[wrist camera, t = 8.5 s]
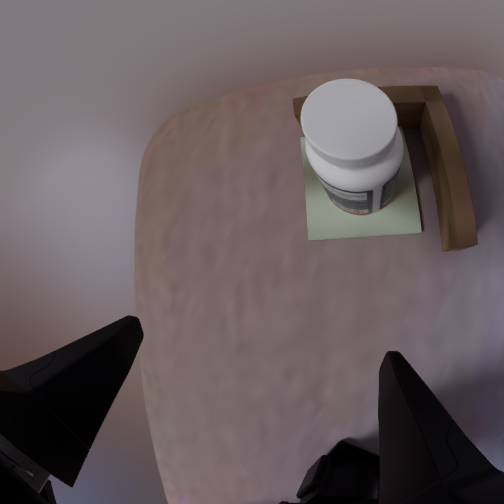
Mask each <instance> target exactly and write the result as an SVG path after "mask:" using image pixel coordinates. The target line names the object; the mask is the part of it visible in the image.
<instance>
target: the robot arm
mask: <svg viewBox="0 0 504 504" xmlns="http://www.w3.org/2000/svg"><path fill="white" fill-rule="evenodd" d="M143 336H144V334H143V330H142V327H141V324H140V320H139V319H138V318H137V317H135V316H130V315H129V316H126V317H124V318H122V319H120V320H118V321H115V322H113V323H111V324H109V325H107V326H105V327H103V328H101V329H99V330H97V331H95V332H93V333H91V334H89V335H86V336H84V337H82V338H80V339H78V340H76V341H74V342H72V343H70V344H68V345H66V346H64V347H62V348H60V349H58V350H56V351H53V352H51V353H49V354H47V355H45V356H42V357H40V358H38V359H36V360H33V361H30V362H28V363H25V364H22V365H20V366H17V367H14V368H12V369H9V370H5V371H0V504H56V500H55V497H54V493H53V489H52V485H51V481H50V480H49V479H48V478H49V477H50V475H53V476H54V477H56V478H58V479H59V480H60V481H62V482H64V483H65V484H67V485H68V486H70V487H73V485H74V483H75V481H76V479H77V476H78V474H79V472H80V470H81V468H82V465H83V463H84V461H85V459H86V457H87V454H88V452H89V449H90V448H91V446H92V444H93V441H94V439H95V437H96V435H97V433H98V431H99V429H100V427H101V425H102V423H103V421H104V419H105V417H106V415H107V413H108V411H109V409H110V407H111V405H112V403H113V401H114V399H115V397H116V396H117V394H118V392H119V390H120V388H121V386H122V384H123V382H124V380H125V378H126V377H127V375H128V373H129V371H130V369H131V366H132V364H133V362H134V359H135V357H136V354H137V352H138V350H139V347H140V345H141V342H142V340H143ZM378 420H379V442H380V457H379V456H377V455H374V454H372V453H370V452H367V451H365V450H363V449H360V448H358V447H356V446H353V445H351V444H349V443H347V442H345V441H340V442H338V443H337V444H336V445H335V446H334V447H333V448H332V450H331V451H330V452H329V453H328V454H327V455H323V456H321V457H320V458H319V459H318V460H317V461H316V462H315V463H314V465H313V466H312V467H311V468H310V469H309V470H308V471H307V473H306V476H305V478H304V480H303V482H302V484H301V486H300V488H299V490H298V492H297V495H296V496H297V498H299V499H301V500H300V502H299V503H289V502H283V501H282V502H280V503H279V504H504V472H502V471H500V470H498V469H497V468H495V467H494V466H493V465H492V464H491V463H490V462H489V461H488V460H487V459H486V457H485V456H484V455H483V454H482V453H481V452H480V451H479V450H478V449H477V448H476V446H475V445H474V444H473V443H472V442H471V441H470V440H469V439H468V437H467V436H466V435H465V434H464V432H463V431H462V430H461V429H460V427H459V426H458V425H457V423H456V422H455V421H454V420H453V419H452V417H451V416H450V414H449V413H448V412H447V410H446V409H445V408H444V407H443V405H442V404H441V403H440V401H439V400H438V399H437V398H436V396H435V395H434V394H433V392H432V391H431V390H430V389H429V387H428V386H427V385H426V384H425V382H424V381H423V380H422V379H421V377H420V376H419V375H418V374H417V373H416V371H415V370H414V369H413V368H412V366H411V365H410V364H409V363H408V362H407V360H406V359H405V358H404V357H403V356H402V354H401V353H400V352H398V351H388V352H387V353H386V355H385V357H384V359H383V362H382V364H381V366H380V370H379V398H378ZM341 445H342V446H344V447H339V446H341Z"/></svg>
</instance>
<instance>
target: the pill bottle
mask: <svg viewBox="0 0 504 504" xmlns="http://www.w3.org/2000/svg"><path fill="white" fill-rule="evenodd" d="M397 123H398V120H397V114H396V110H395V108H394V105H393V103H392V102H391V100H390V99H389V98H388V96H387V95H386V94H385V93H384V92H383V91H382V90H380V89H379V88H377V87H376V86H374V85H372V84H370V83H368V82H365V81H361V80H357V79H338V80H333V81H330V82H327V83H325V84H323V85H321V86H319V87H318V88H316V89H315V90H314V91H313V92H312V93H311V94H310V95H309V96H308V97H307V99H306V100H305V102H304V104H303V107H302V111H301V126H302V129H303V132H304V134H305V137H306V138H305V149H306V154H307V157H308V160H309V162H310V164H311V166H312V168H313V170H314V172H315V173H316V175H317V177H318V178H319V180H320V182H321V184H322V186H323V187H324V189H325V191H326V193H327V195H328V197H329V198H330V200H331V201H332V202H333V203H334V204H335V205H336V206H337V207H338V208H339V209H341V210H342V211H344V212H346V213H349V214H352V215H359V216H363V215H370V214H373V213H376V212H378V211H380V210H381V209H382V208H384V207H385V206H386V205H387V204H388V203H389V201H390V200H391V198H392V196H393V194H394V191H395V187H396V183H397V179H398V175H399V171H400V167H401V163H402V158H403V139H402V135H401V132H400V130H399V128H398V126H397Z"/></svg>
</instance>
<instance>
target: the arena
mask: <svg viewBox="0 0 504 504" xmlns="http://www.w3.org/2000/svg"><path fill="white" fill-rule="evenodd" d="M377 88H379V89H380V90H382V91H383V92H384V93H385V94H386V95H387V96H388V98H389V99H390V100H391V102H392V103H393V105H394V108H395V110H396V114H397V120H398V123H397V126H398V128H399V130H400V132H401V135H402V139H403V158H402V163H401V167H400V171H399V175H398V179H397V183H396V187H395V191H394V194H393V196H392V198H391V200H390V201H389V203H388V204H387V205H386V206H385V207H384V208H382V209H381V210H380V211H378V212H376V213H373V214H370V215H363V216H359V215H352V214H349V213H346V212H344V211H342V210H341V209H339V208H338V207H337V206H336V205H335V204H334V203H333V202H332V201H331V200H330V198H329V197H328V195H327V193H326V191H325V189H324V187H323V186H322V184H321V182H320V180H319V178H318V177H317V175H316V173H315V172H314V170H313V168H312V166H311V164H310V162H309V160H308V157H307V154H306V149H305V138H306V137H301V147H302V158H303V169H304V180H305V193H306V208H307V224H308V240H309V241H314V240H328V239H342V238H356V237H370V236H385V235H400V234H415V233H422V232H421V222H420V214H419V207H418V200H417V194H416V188H415V182H414V177H413V172H412V167H411V162H410V158H409V153H408V149H407V145H406V141H405V137H404V133H403V129H402V128H420V131H421V135H422V138H423V142H424V146H425V150H426V153H427V158H428V162H429V166H430V171H431V175H432V180H433V186H434V191H435V197H436V203H437V209H438V217H439V224H440V233H441V244H442V251H456V250H462V249H465V248H468V247H471V246H474V245H477V244H478V240H477V231H476V223H475V216H474V210H473V204H472V198H471V193H470V188H469V183H468V178H467V174H466V170H465V166H464V162H463V158H462V154H461V151H460V147H459V144H458V141H457V137H456V134H455V131H454V128H453V125H452V122H451V119H450V117H449V114H448V111H447V109H446V106H445V103H444V101H443V98H442V96H441V94H440V91H439V89H438V87H437V86H391V87H377ZM307 97H308V96H305V97H300V98H295V99H293V107H294V115H295V117H296V119H297V120H298V122H299V124H300V126H301V111H302V107H303V104H304V102H305V100H306V99H307ZM301 128H302V126H301ZM302 130H303V129H302Z"/></svg>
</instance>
